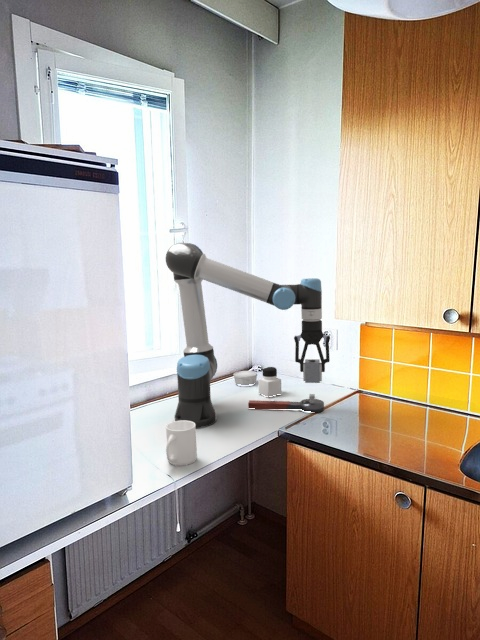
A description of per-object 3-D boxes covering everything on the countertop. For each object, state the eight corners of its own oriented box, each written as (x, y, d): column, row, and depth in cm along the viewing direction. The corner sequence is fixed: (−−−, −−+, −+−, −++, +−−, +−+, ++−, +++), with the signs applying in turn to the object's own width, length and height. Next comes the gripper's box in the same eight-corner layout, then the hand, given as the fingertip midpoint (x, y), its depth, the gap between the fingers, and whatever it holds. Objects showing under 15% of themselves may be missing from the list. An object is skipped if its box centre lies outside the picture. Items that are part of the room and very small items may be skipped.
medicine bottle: (281, 395, 198) (281, 367, 197) (268, 398, 194) (268, 370, 193) (271, 391, 204) (271, 364, 203) (258, 394, 200) (257, 367, 199)
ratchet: (247, 411, 178) (247, 396, 178) (250, 404, 187) (250, 390, 186) (324, 414, 174) (324, 398, 173) (323, 406, 182) (323, 391, 182)
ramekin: (239, 380, 224) (239, 369, 224) (261, 382, 220) (260, 371, 219) (229, 386, 214) (229, 375, 213) (252, 388, 210) (252, 377, 209)
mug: (154, 468, 133) (152, 432, 131) (178, 452, 143) (176, 418, 142) (180, 473, 129) (178, 437, 127) (202, 456, 140) (201, 422, 138)
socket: (305, 382, 175) (304, 361, 174) (305, 379, 180) (305, 358, 179) (319, 382, 174) (319, 361, 173) (319, 379, 179) (319, 358, 178)
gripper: (286, 321, 172) (287, 382, 175) (337, 320, 169) (337, 383, 172) (287, 318, 179) (288, 377, 182) (336, 318, 176) (336, 377, 179)
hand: (312, 380), depth 177 cm, fingers closed on socket, 5 cm apart
